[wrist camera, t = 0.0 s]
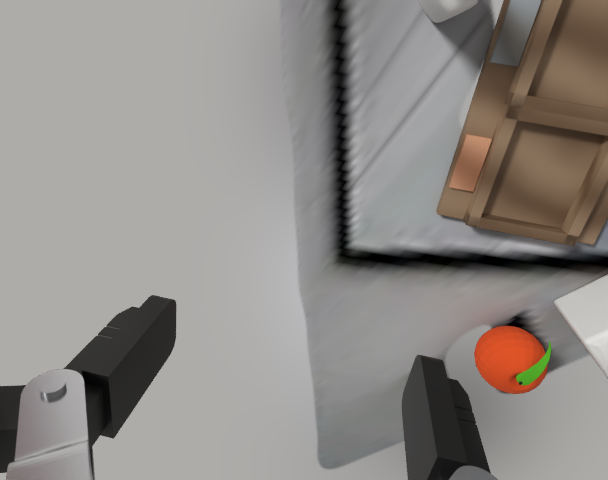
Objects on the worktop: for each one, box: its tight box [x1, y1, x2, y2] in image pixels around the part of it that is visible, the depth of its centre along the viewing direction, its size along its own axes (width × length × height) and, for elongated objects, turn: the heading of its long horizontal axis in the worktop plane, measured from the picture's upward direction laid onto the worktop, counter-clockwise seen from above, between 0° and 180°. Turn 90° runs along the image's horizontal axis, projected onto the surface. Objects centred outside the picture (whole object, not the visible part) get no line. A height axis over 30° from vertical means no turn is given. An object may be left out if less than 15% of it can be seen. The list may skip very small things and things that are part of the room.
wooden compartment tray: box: [437, 0, 608, 246], centre depth 34 cm, size 22×15×2 cm
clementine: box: [474, 326, 551, 394], centre depth 42 cm, size 8×7×7 cm
